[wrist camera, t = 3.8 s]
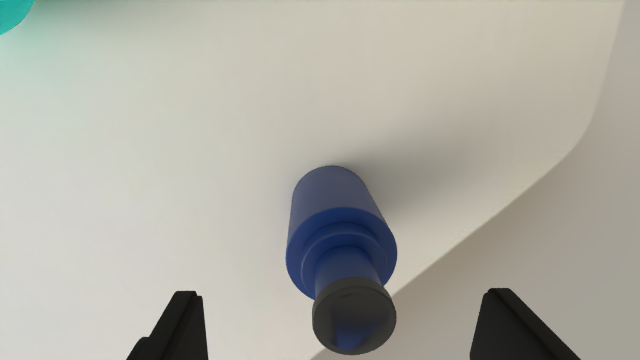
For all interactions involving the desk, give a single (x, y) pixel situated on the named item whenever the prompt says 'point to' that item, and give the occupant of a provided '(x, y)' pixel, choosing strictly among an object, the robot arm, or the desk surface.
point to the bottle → (342, 260)
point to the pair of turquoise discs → (13, 13)
